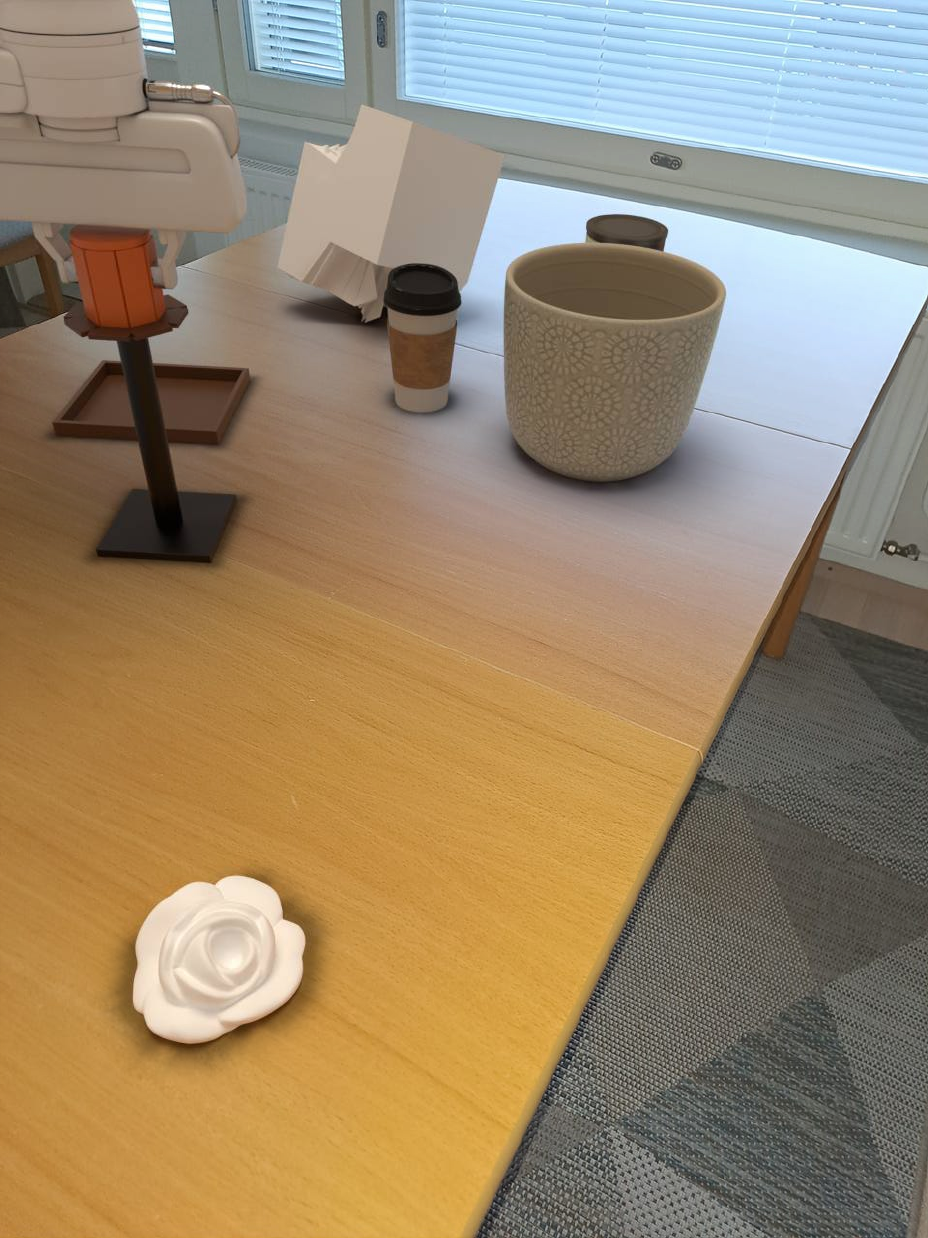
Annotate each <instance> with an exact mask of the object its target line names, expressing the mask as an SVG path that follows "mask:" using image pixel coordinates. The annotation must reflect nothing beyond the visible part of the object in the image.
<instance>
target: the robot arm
mask: <svg viewBox="0 0 928 1238" xmlns="http://www.w3.org/2000/svg"><path fill="white" fill-rule="evenodd" d="M139 18H140V17H139V14H138V12H137V9H136V6H135V4H134V2H133V0H0V221H6V222H7V221H9V222H10V221H11V222H24V223H26V222H27V223H30V224H31V227H32V232H33V235H34V238H35V239H36V240H37V241H38V243H39V244H40V245H41V246H42V247H43V249H44V250H45V251H46V253H48V255H49V256H50V257H51V258H52V260H53V261H55V263H56V265H57V270H58V274H59V278H60V281H61V282H62V284H79V282H78V278H77V273H76V269H75V265H74V260H73V256H72V252H71V247H70V245H69V244H68V243H67V242H66V240H65V239H64V238H63V236H62V234H61V232H60V231H62V230H63V228H64V225H73V226H77V225H89V226H106V227H122V228H139V229H150V230H154V231H155V230H156V231H157V236H158V242H159V244H160V245H167V247H166V249H165V252H164V254H163V256H162V258H157V259H156V260H155V261H154V263H152V265H151V266H150V271H151V277H152V278H153V280H152V282H153V286H154V288H157V289H163V290H174V289H175V288H176V287H177V285H178V281H179V277H178V270H177V265H176V264H177V263H176V261H177V260H178V257H179V254H180V252H181V249H182V248H183V246H184V243H185V241H186V238H187V232H190V233H191V232H192V233H205V234H222V235H223V234H224V235H226V234H231V233H232V232H234V230H235V229H236V228H237V227H238V226H239V225H240V224H241V223H242V222H243V220H244V219H245V216H246V214H247V211H248V202H247V195H246V189H245V183H244V177H243V174H242V169H241V164H240V161H239V156H238V152H239V149H240V145H241V131H240V122H239V115H238V112H237V109H236V107H235V106H234V104H233V103H232V101H231V100H230V99H229V98H228V97H226V95H224V94H222V93H221V92H219V91H216V90H215V88H214V87H213V85H210V84H207V83H202V82H201V83H199V82H193V83H192V84H188V83H187V84H186V83H180V82H174V81H168V80H167V81H166V80H155V79H153V80H152V79H149V74H148V69H147V68H148V67H147V61H146V55H145V50H144V49H145V48H144V43H143V42H144V41H143V35H142V30H141V25H140V24H141V23H140V19H139ZM215 99H216V100H218V101H220V102H215Z"/></svg>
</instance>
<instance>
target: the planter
mask: <svg viewBox="0 0 928 1238" xmlns="http://www.w3.org/2000/svg"><path fill="white" fill-rule="evenodd" d="M503 294H504V297H503V382H504V383H503V384H504V385H503V387H504V400H505V411H506V419H507V422H508V426H509V429H510V431H511V434H512V436H513V438H514V439H515V441H516V443H517V444H518V446H519V447H520V448H521V449H522V450H523V452H525V453H526V454H527V456H529V457H530V458H531V459H532V460H533V461H535V462H536V463H538V464H539V465H541V466H542V467H544V468H545V469H547V470H549V471H551V472H553V473H555V474H558V475H560V476H563V477H566V478H569V479H573V480H579V481H585V482H596V483H597V482H598V483H602V482H603V483H605V482H607V483H608V482H618V481H623V480H627V479H631V478H634V477H637V476H639V475H640V476H641V475H642V474H645V473H647V472H649V471H651V470H652V469H654V468H656V467H657V466H659V465H661V464H662V463H663V462H664V461H665V460H667V459H668V458H669V457H670V456H671V455H672V454H673V453H674V451H675V450H676V449H677V447H678V446H679V444H680V443H681V441H682V439H683V437H684V435H685V433H686V431H687V428H688V426H689V423H690V420H691V418H692V416H693V412H694V409H695V407H696V404H697V401H698V398H699V395H700V392H701V388H702V385H703V382H704V378H705V375H706V372H707V368H708V365H709V362H710V360H711V356H712V353H713V349H714V346H715V341H716V339H717V335H718V332H719V331H718V330H719V327H720V324H721V320H722V316H723V311H724V307H725V302H726V296H727V290H726V286H725V284H724V283H723V281H722V280H721V279H720V278H719V276H717V275H716V274H715V273H714V272H712V271H711V270H709V269H708V267H707V268H706V267H705V266H704V265H701V264H699V263H697V262H695V261H693V260H691V259H688V258H686V257H683V256H680V255H677V254H674V253H670V252H667V251H664V252H663V251H659V250H654V249H649V248H644V247H638V246H631V245H623V244H611V243H585V242H572V243H563V244H555V245H548V246H545V247H541V248H537V249H534V250H531V251H530V250H529V251H528V252H526V253H523V254H521V255H520V256H518V257H517V258H515V259H514V260H512V261H511V263H510V264H509V265H508V266H507V268H506V272H505V280H504V293H503Z"/></svg>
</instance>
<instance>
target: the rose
mask: <svg viewBox="0 0 928 1238" xmlns="http://www.w3.org/2000/svg"><path fill="white" fill-rule="evenodd" d="M145 918H146V919H144V922H143V923H142V925H141V927H140V929H139V931H138V934H137V937H136V940H135V946H134V947H135V949H134V951H135V955H136V956H135V957H136V962H137V967H136V971H135V975H134V980H133V987H132V988H133V990H132V1003H133V1008H134V1009H135V1011H136V1012H138V1013H139V1014H142V1015H143V1018H144V1021H145V1024H146V1026H147V1028H148V1029H149V1030H150V1031H151V1032H152V1033H153V1034H155V1035H157V1036H159V1037H161V1038H164V1039H166V1040H169V1041H173V1042H177V1043H183V1044H200V1043H201V1044H202V1043H206V1042H210V1041H213V1040H217V1039H218V1038H219V1037H221V1036H223V1035H225V1034H227V1033H230V1032H233V1031H234V1030H235V1029H236V1028H239V1026H242V1025H245V1024H250V1023H253V1022H255V1021H258V1020H260V1019H262V1018H264V1017H266V1016H268V1015H269V1014H271V1013H273V1012H275V1011H276V1010H277V1009H279V1008H280V1007H282V1006H283V1005H284V1004H286V1003H287V1002H288V1001H289V1000H290V999H291V998H292V997H293V995H294V994H295V993H296V991H297V989H298V988H299V986H300V984H301V982H302V979H303V974H304V961H303V954H304V951H305V949H306V935H305V932H304V931H303V929H302V928H301V927H300V925H298V924H296V923H294V922H292V921H289V920H286V919H284V911H283V907H282V901H281V898H280V896H279V895H278V893H277V891H276V890H275V889H274V888H273V887H271V886H270V885H269V884H266V883H264V882H262V881H260V880H258V879H256V878H252V877H248V876H244V875H229V876H225V877H223V878H221V879H220V880H219V881H217V882H216V883H215V884H213V883H211V882H207V881H194V882H190V883H188V884H186V885H184V886H182V887H180V888H179V889H178V890H176V891H175V892H173V894H171V895H170V896H168V897H166V898H165V899H163V900H161V901H159V903H158V904H157V905H156V906H154V908H152V910H151V911H150V912H149V914H148V916H147V917H145Z"/></svg>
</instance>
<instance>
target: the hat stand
mask: <svg viewBox="0 0 928 1238" xmlns="http://www.w3.org/2000/svg"><path fill="white" fill-rule="evenodd" d="M116 345H117V351H118V354H119V359H120V361H121V364H122V369H123V373H124V378H125V383H126V387H127V392H128V396H129V401H130V406H131V410H132V415H133V420H134V424H135V429H136V434H137V438H138V440H137V442H138V447H139V452H140V456H141V461H142V467H143V470H144V474H145V475H144V476H145V479H146V484H147V489H146V488H145V489H144V488H132V489H131V490H130V492H129V493H128V496H127V497H126V499H125V500H124V502H123V504H122V505H121V507H120V509H119V511H118V512H117V514H116V516H115V517H114V519H113V521H112V522H111V524H110V526H109V527H108V529H107V531H106V532H105V534H104V535H103V538H102V539H101V541H100V543H99V544H98V545H97V547H96V549H95V551H96V555H97V557H99V558H115V559H116V558H117V559H132V560H133V559H135V560H150V561H151V560H152V561H165V562H166V561H169V562H183V563H200V564H201V563H203V564H212V561H213V559H214V557H215V555H216V552H217V550H218V547H219V545H220V542H221V541H222V539H223V535H224V533H225V532H226V529H227V527H228V524H229V521H230V519H231V517H232V515H233V512H234V510H235V508H236V505H237V504H238V498H237V494H234V493H233V494H232V493H219V492H218V493H216V492H196V491H180V490H178V485H177V481H176V476H175V471H174V466H173V461H172V455H171V451H170V450H171V449H170V445H169V442H168V439H167V434H166V429H165V424H164V418H163V413H162V408H161V403H160V398H159V392H158V387H157V382H156V377H155V372H154V366H153V363H154V362H153V356H152V352H151V346H150V341H149V338H145V339H142V340H138V341H137V340H135V339H134V338H131V339H130V340H129V341H128V342H126V341H116Z"/></svg>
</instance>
